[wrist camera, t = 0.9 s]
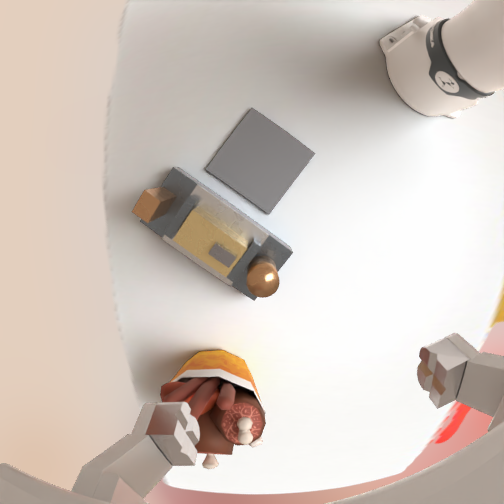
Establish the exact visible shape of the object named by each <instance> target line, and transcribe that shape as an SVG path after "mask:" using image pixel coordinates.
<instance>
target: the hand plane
mask: <svg viewBox="0 0 504 504" xmlns="http://www.w3.org/2000/svg"><path fill="white" fill-rule="evenodd" d="M198 206H199V207H201V208H202V209H203V210H205V211H206V212H208V213H209V214H211V215H212V216H213V217H215V218H216V219H218V220H219V221H220V222H222V223H223V224H225V225H226V226H227V227H229V228H230V229H232V230H233V231H235V232H236V233H237V234H239V235H240V236H242V237H243V238H244V239H246V240H247V241H248V247H247V250H246V251H245V253H244V254H243V255H242V257H241V258H240V259H239V261H238V262H237V263H236V265H235V266H234V267H233V269H232V270H231V271H230V273H229V274H228V275H227V277H225V276H223V275H222V274H221V273H219V272H218V271H216V270H215V269H213V268H212V267H210V266H209V265H207V264H206V263H205V262H203V261H202V260H200V259H199V258H197V257H196V256H194V255H193V254H192V253H190V252H189V251H187V250H186V249H185V248H183V247H182V246H180V245H179V244H177V243H176V242H175V241H173V239H174V237H175V236H176V234H177V233H178V231H179V230H180V228H181V226H182V225H183V223H184V222H185V220H186V219H187V217H188V216H189V214H190V213H191V211H192V210H193V209H195V208H197V207H198ZM132 212H133V213H134V214H136V215H137V216H138V217H140V218H141V220H140V222H142V223H143V224H144V225H146V226H147V227H149V228H150V229H151V230H153V231H154V232H155V233H157V234H158V235H160V236H161V237H162V240H164V241H165V242H167V243H168V244H169V245H171V246H172V247H174V248H175V249H177V250H178V251H179V252H181V253H182V254H184V255H185V256H186V257H188V258H189V259H191V260H192V261H194V262H195V263H196V264H198V265H199V266H201V267H202V268H204V269H205V270H207V271H208V272H210V273H211V274H212V275H214V276H215V277H217V278H218V279H220V280H221V281H223V282H224V283H226V284H227V285H229V286H233V287H234V288H236V289H237V290H239V291H240V292H242V293H243V294H245V295H246V296H248V297H249V298H251V299H252V300H255V299H256V298H257V297H268V296H271V295H272V294H274V293H275V292H276V291H277V289H278V287H279V277H278V273H277V272H278V271H279V269H280V268H281V267H282V266H283V264H284V263H285V262H286V261H287V259H288V258H289V257H290V256H291V254H292V253H293V251H292V249H291V247H290V246H288V245H287V244H286V243H284V242H283V241H282V240H280V239H279V238H278V237H276V236H275V235H273V234H272V233H271V232H269V231H268V230H267V229H265V228H264V227H262V226H261V225H260V224H258V223H257V222H256V221H254V220H253V219H251V218H250V217H249V216H247V215H246V214H244V213H243V212H242V211H240V210H239V209H237V208H236V207H235V206H233V205H232V204H230V203H229V202H228V201H226V200H225V199H223V198H222V197H221V196H219V195H218V194H216V193H215V192H213V191H212V190H211V189H209V188H208V187H206V186H205V185H203V184H202V183H201V182H199V181H198V180H196V179H195V178H193V177H192V176H190V175H189V174H188V173H186V172H185V171H183V170H182V169H180V168H177V167H173V169H172V170H171V172H170V173H169V175H168V176H167V178H166V179H165V181H164V182H163V184H162V186H161V187H159V188H153V189H147V190H144V192H143V193H142V195H141V197H140V198H139V200H138V202H137V204H136V205H135V207H134V209H133V211H132Z"/></svg>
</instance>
